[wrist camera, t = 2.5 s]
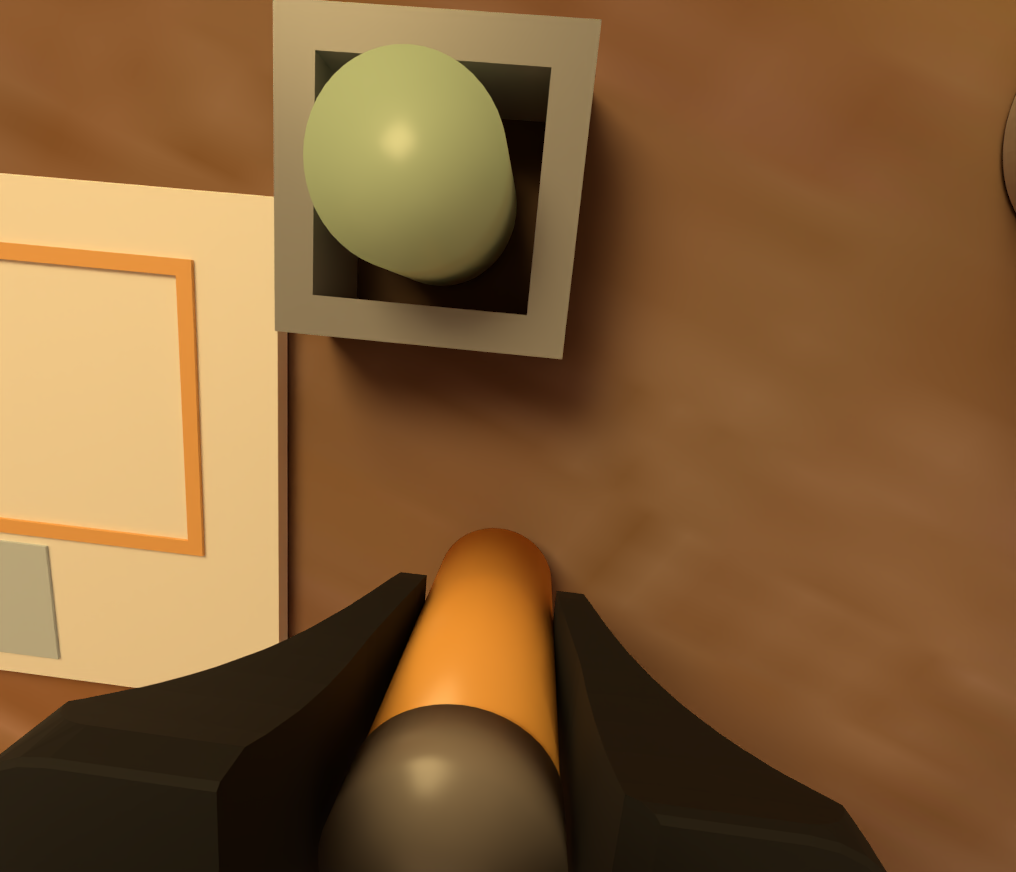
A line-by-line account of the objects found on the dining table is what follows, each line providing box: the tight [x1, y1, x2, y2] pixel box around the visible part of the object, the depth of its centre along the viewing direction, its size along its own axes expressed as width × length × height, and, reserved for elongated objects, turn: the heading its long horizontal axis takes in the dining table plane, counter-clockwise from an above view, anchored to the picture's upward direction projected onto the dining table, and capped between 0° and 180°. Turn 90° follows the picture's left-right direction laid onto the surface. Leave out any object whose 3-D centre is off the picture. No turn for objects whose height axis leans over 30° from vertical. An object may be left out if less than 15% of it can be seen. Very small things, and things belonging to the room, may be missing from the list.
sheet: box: [0, 173, 288, 688], centre depth 14 cm, size 14×12×1 cm
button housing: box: [273, 0, 601, 359], centre depth 11 cm, size 6×6×2 cm
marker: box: [318, 528, 568, 872], centre depth 10 cm, size 3×3×7 cm
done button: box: [303, 44, 517, 286], centre depth 10 cm, size 3×3×3 cm
